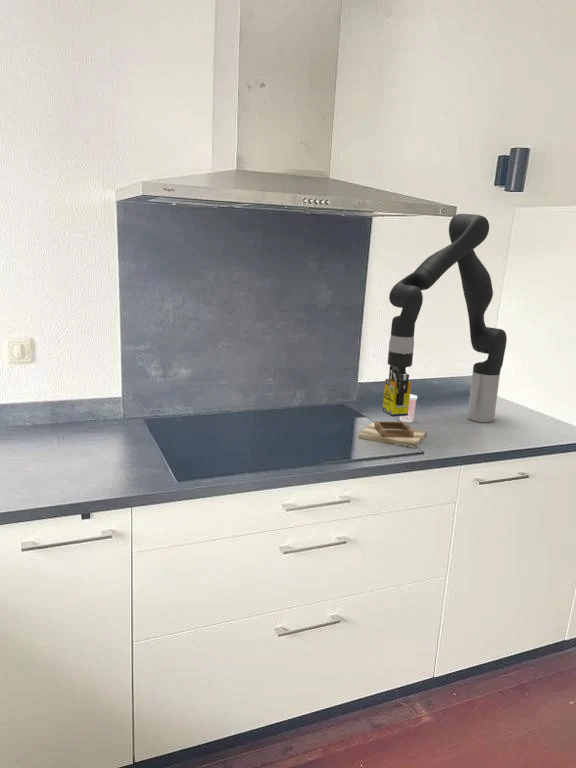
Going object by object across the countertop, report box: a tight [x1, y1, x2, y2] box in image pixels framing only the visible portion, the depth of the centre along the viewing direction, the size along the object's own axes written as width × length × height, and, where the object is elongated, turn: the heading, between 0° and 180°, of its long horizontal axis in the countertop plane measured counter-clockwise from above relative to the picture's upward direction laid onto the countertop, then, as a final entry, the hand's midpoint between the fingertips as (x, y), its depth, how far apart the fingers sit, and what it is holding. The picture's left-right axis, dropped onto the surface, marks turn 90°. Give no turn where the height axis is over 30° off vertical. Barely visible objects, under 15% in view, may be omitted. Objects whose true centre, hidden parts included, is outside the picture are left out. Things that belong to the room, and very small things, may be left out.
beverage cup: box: [399, 393, 418, 423], centre depth 206 cm, size 6×6×14 cm
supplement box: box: [382, 378, 412, 418], centre depth 185 cm, size 6×6×11 cm
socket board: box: [358, 421, 427, 448], centre depth 188 cm, size 15×18×4 cm
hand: (396, 401), depth 186 cm, fingers closed on supplement box, 7 cm apart
